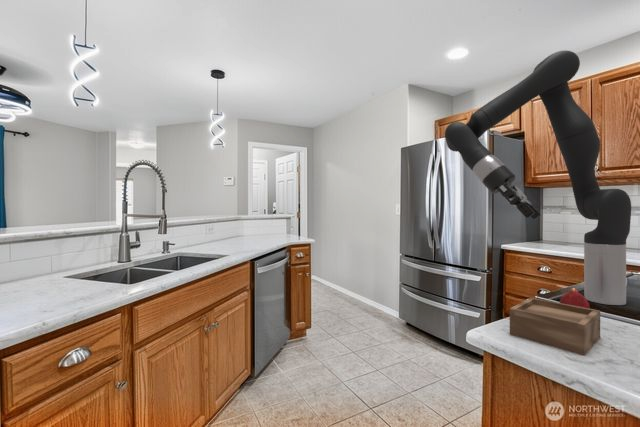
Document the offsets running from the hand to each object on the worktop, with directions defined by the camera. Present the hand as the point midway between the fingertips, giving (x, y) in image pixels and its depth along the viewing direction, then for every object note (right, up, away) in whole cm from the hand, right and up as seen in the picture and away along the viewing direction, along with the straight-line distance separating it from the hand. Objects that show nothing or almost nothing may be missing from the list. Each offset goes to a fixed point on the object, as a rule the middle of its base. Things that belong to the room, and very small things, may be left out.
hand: (534, 216), depth 84 cm
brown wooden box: (-6, -27, -16) cm, 31 cm away
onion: (+6, -26, -6) cm, 27 cm away
